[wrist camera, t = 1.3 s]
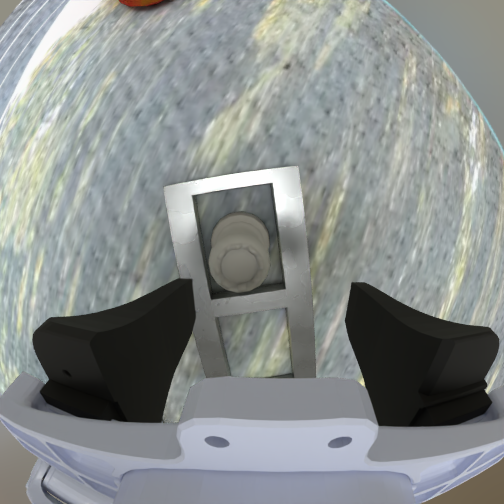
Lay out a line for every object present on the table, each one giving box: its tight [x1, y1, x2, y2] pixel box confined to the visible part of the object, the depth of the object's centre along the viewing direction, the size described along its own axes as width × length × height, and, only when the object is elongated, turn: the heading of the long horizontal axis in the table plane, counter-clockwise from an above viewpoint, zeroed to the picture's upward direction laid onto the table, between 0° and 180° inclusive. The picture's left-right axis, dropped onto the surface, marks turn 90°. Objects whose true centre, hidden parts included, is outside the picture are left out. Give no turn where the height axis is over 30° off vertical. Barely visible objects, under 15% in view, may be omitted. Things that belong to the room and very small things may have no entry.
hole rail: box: [163, 166, 316, 378], centre depth 23 cm, size 10×29×2 cm, turn 8°
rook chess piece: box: [208, 212, 270, 293], centre depth 17 cm, size 4×4×8 cm
